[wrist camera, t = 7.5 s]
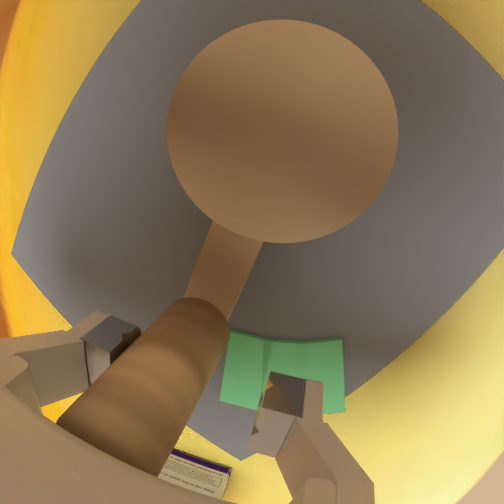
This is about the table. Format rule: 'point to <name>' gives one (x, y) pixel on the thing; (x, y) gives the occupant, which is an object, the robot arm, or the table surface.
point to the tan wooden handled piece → (244, 208)
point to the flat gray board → (272, 254)
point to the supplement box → (196, 474)
